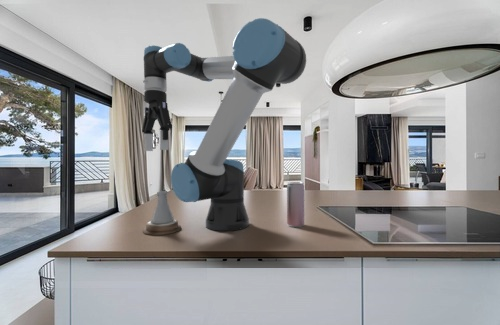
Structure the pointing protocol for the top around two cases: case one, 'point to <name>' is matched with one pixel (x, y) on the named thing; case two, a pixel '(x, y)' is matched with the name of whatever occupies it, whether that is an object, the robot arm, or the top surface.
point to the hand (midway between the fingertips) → (156, 150)
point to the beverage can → (295, 204)
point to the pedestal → (161, 228)
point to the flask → (162, 210)
